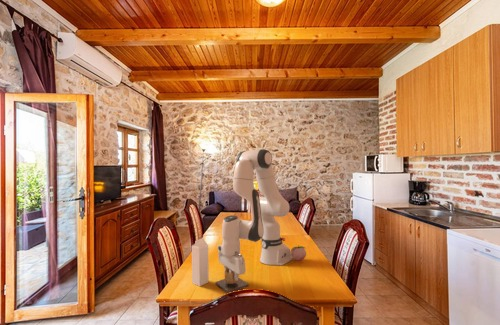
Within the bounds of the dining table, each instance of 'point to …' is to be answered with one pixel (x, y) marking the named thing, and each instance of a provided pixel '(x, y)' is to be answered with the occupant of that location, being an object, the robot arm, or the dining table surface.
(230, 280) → the collar
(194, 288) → the dining table surface
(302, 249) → the decorative fruit
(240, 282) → the grey peg stand
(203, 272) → the milk
